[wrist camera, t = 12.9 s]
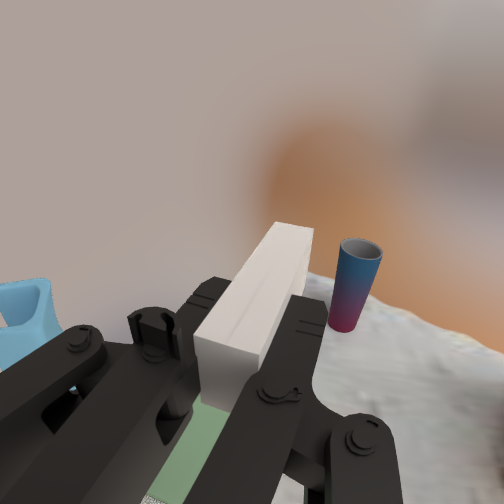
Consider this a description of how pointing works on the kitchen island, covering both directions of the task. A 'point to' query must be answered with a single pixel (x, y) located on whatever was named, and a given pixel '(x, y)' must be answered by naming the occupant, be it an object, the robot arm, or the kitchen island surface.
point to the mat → (189, 454)
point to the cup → (353, 281)
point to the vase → (26, 319)
